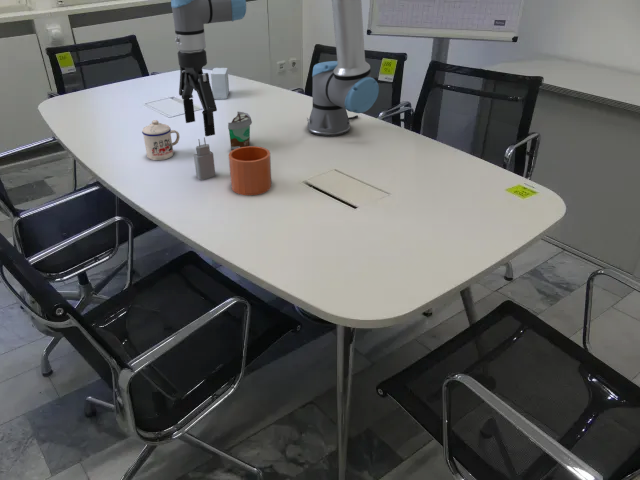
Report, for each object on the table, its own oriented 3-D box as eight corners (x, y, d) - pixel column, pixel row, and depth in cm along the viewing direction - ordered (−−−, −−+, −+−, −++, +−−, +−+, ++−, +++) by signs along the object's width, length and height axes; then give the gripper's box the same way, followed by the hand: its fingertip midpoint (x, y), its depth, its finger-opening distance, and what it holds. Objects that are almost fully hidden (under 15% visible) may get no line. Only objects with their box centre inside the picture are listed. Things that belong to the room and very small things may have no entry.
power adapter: (195, 177, 162) (190, 138, 155) (211, 172, 164) (207, 134, 158) (200, 180, 160) (195, 141, 153) (216, 175, 162) (212, 137, 155)
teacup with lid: (152, 163, 172) (146, 127, 165) (142, 154, 178) (136, 120, 171) (187, 154, 177) (182, 119, 170) (175, 146, 183) (170, 112, 177)
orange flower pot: (259, 174, 162) (257, 143, 156) (278, 188, 154) (277, 155, 148) (224, 184, 157) (221, 151, 151) (243, 199, 149) (240, 165, 143)
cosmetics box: (227, 99, 227) (225, 73, 221) (212, 99, 227) (210, 73, 221) (229, 91, 235) (227, 67, 230) (215, 92, 236) (212, 67, 230)
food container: (248, 153, 176) (246, 124, 170) (230, 152, 177) (227, 123, 171) (256, 140, 186) (255, 111, 180) (239, 139, 187) (237, 111, 181)
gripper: (161, 43, 149) (171, 119, 161) (197, 60, 131) (206, 144, 143) (186, 40, 152) (194, 114, 164) (225, 56, 134) (231, 138, 146)
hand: (200, 128), depth 154 cm, fingers open, 13 cm apart
